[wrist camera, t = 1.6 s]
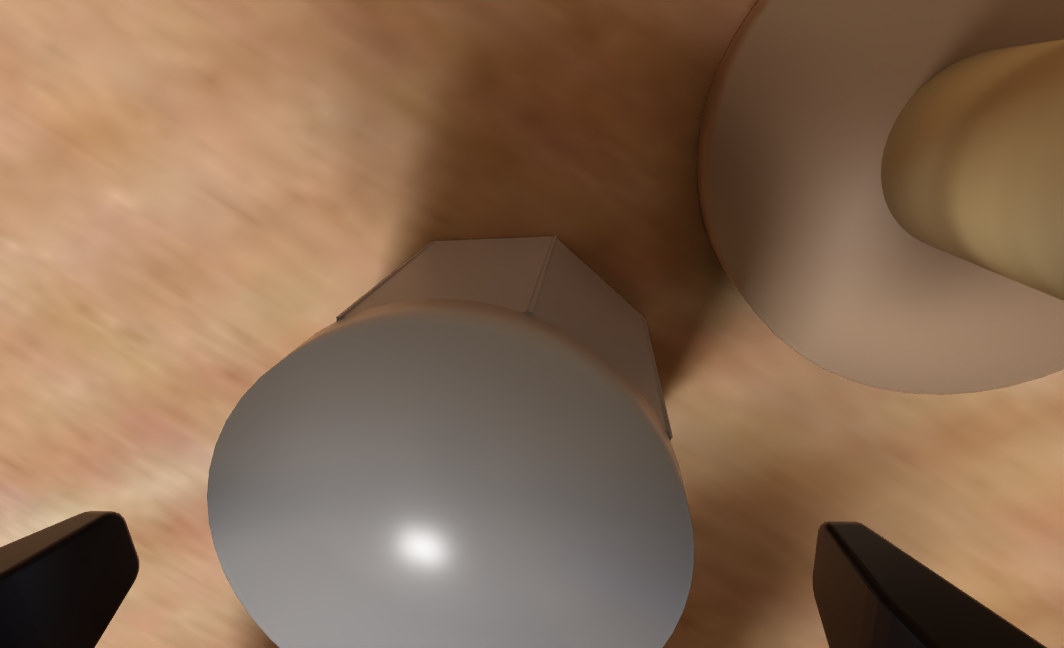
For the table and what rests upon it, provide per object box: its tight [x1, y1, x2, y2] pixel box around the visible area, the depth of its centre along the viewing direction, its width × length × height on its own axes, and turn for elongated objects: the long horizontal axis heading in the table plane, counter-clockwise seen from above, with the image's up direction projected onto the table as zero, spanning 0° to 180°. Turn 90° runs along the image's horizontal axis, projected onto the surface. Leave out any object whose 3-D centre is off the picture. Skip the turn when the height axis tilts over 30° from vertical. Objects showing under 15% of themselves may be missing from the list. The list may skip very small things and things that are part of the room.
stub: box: [697, 0, 1064, 395], centre depth 7 cm, size 8×8×5 cm
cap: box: [207, 235, 695, 648], centre depth 10 cm, size 6×6×5 cm
